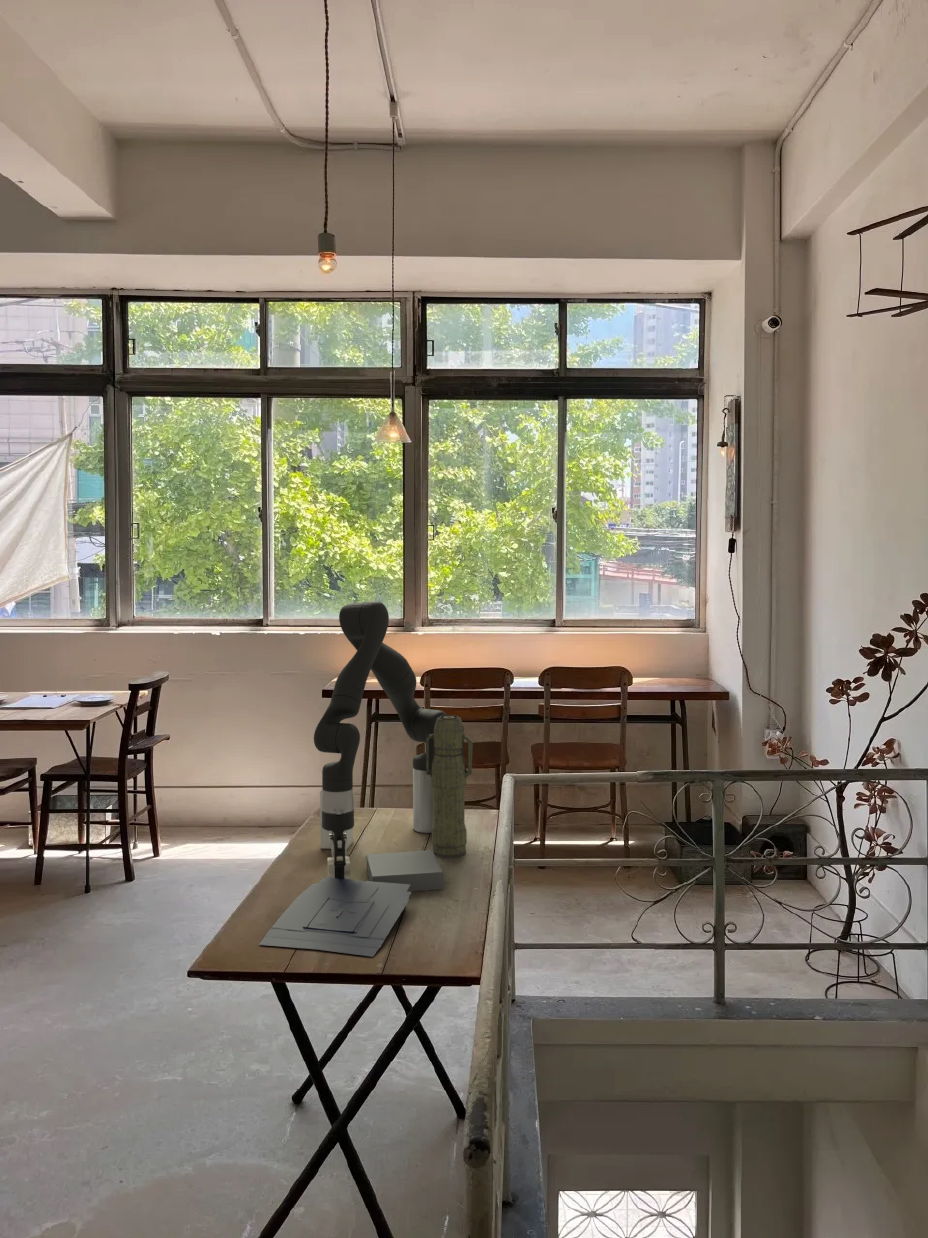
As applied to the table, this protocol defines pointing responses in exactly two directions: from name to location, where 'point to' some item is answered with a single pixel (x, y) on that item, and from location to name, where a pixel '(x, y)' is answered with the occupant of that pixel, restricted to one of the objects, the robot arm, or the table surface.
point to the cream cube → (332, 869)
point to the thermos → (449, 785)
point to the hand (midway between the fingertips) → (338, 875)
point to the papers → (340, 916)
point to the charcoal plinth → (406, 869)
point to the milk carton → (325, 834)
